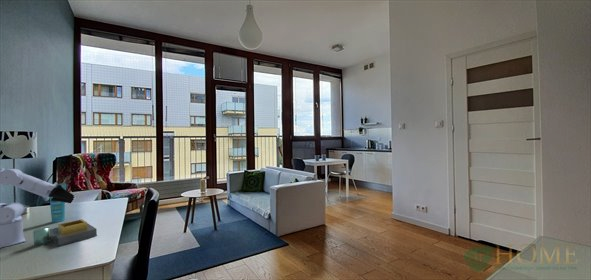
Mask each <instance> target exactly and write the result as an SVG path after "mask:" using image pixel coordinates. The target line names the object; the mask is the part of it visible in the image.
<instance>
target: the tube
mask: <svg viewBox="0 0 591 280" xmlns="http://www.w3.org/2000/svg"><path fill="white" fill-rule="evenodd" d="M59 184H60V185H61V186H62V187H63V188H64V189H65V190H66V191H67V189H66V188H67V183H57V185H56V187H57V186H58V185H59ZM48 199H49V204H50V215H51V223H60V222H64V221H65V220H66V217H65V216H66V203H65V202H59V201H50V200H51V199H52V198H51V197H48Z"/></svg>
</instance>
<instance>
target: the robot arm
mask: <svg viewBox="0 0 591 280" xmlns="http://www.w3.org/2000/svg"><path fill="white" fill-rule="evenodd" d="M0 184H1V185H4V186H8V185H11V186H14V187H16V188H17V189H21V190H24V191H26V192H28V193H29V192H30V193H31V194H35V195H38V196H40V197H42V198H44V199H46V198H49V197H51V198H52V199H51V200H50V199H49V202H50V201H59V202H65V204H71V203H72V202H74V197H75V195H74V194H73V193H71V192H70V191H68V190H67V189H66V190H65V189H64V188H63V187H62V186H61V185H60V184H61V183H58V182H54V183H50V182H48V181H45V180H42V179H40V178H37V177H35V176H32V175H29V174H27V173H24V172H23V171H22V170H20V169H18V168H9V169H5V167H1V168H0ZM58 184H59V185H58ZM56 185H58V186H57V187H56ZM25 210H26V209H25V206H24V205H23V204H21V203H20V202H11V203H3V202H1V203H0V248H5V247H10V246H13V245H17V244H22V243H25V242H27V240H26V238H25V236H24V228H23V227H24V225H23V221H24V220H23V216H22V215H23V214H24V213H25Z"/></svg>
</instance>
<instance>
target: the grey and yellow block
mask: <svg viewBox="0 0 591 280" xmlns="http://www.w3.org/2000/svg"><path fill="white" fill-rule="evenodd" d="M97 235H98V233H97V228H96V227H95V226H93V225H91V224H90V223H88V221H85V220H84V219H82V218H81V219H77V220H73V221H68V222H63V223H57V227H54V228H49V238H50V239H52V241H54V243H55V244H56V245H57V246H58V247H60V246H64V245H68V244H73V243H75V242H79V241H83V240H86V239H91V238H94V237H97Z"/></svg>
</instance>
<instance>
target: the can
mask: <svg viewBox="0 0 591 280" xmlns="http://www.w3.org/2000/svg"><path fill="white" fill-rule="evenodd" d="M49 229H50V227H40V228H39V227H38V228H36V229H34V230H33V246H34V247H35V246H36V247H42V245H43V246H45V245H49V244H50V242H51V241H50V239H51V237H50V232H49Z"/></svg>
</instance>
